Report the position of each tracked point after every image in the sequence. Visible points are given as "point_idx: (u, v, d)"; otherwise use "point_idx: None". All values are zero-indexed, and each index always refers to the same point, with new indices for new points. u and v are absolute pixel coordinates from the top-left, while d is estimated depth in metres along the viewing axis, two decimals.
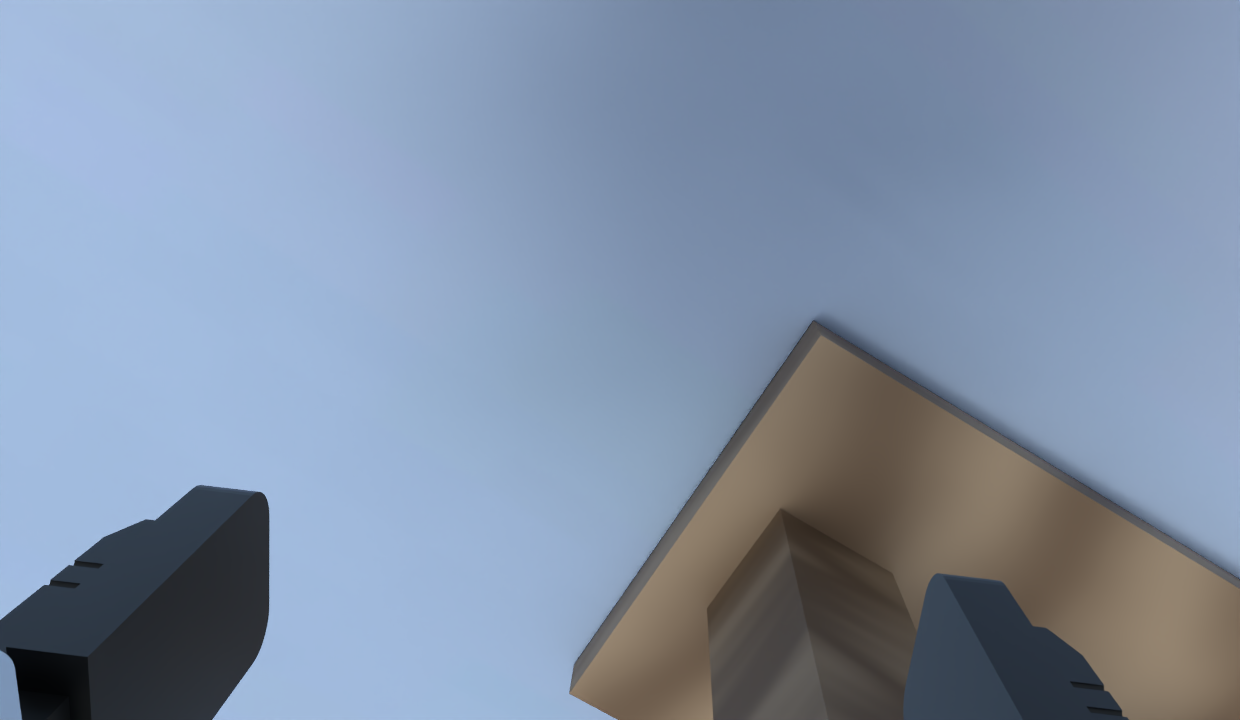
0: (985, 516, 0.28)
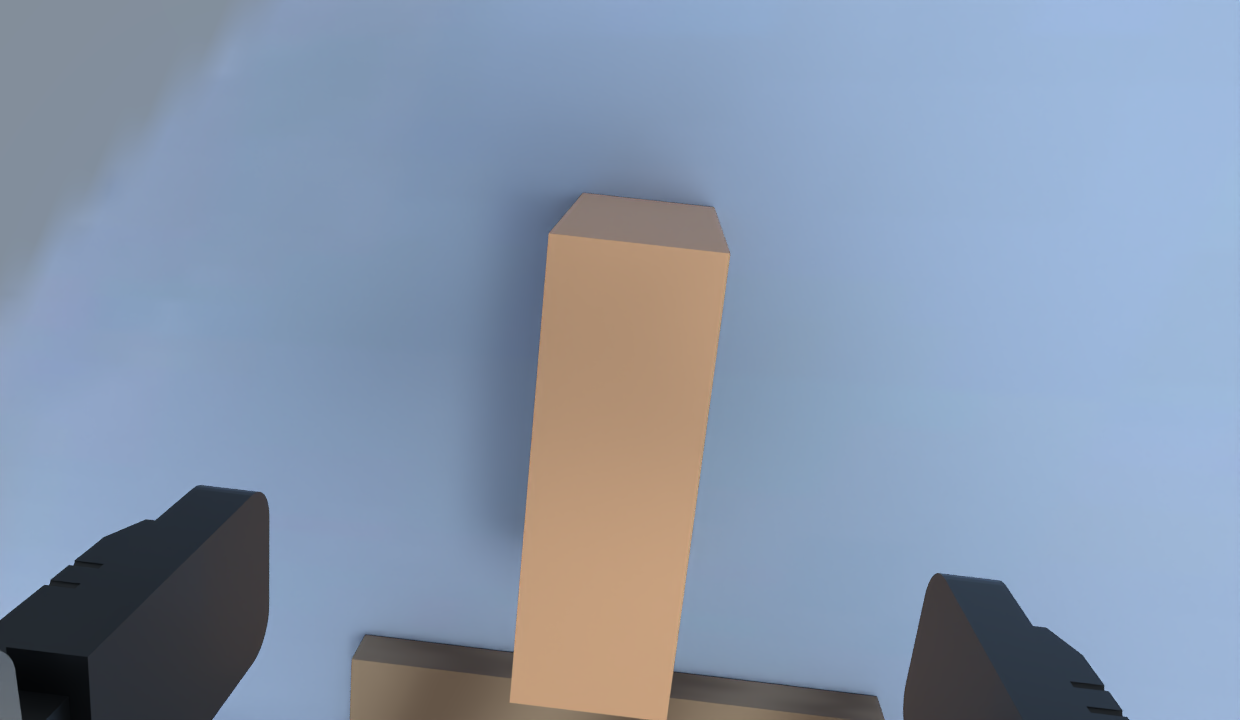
0: None
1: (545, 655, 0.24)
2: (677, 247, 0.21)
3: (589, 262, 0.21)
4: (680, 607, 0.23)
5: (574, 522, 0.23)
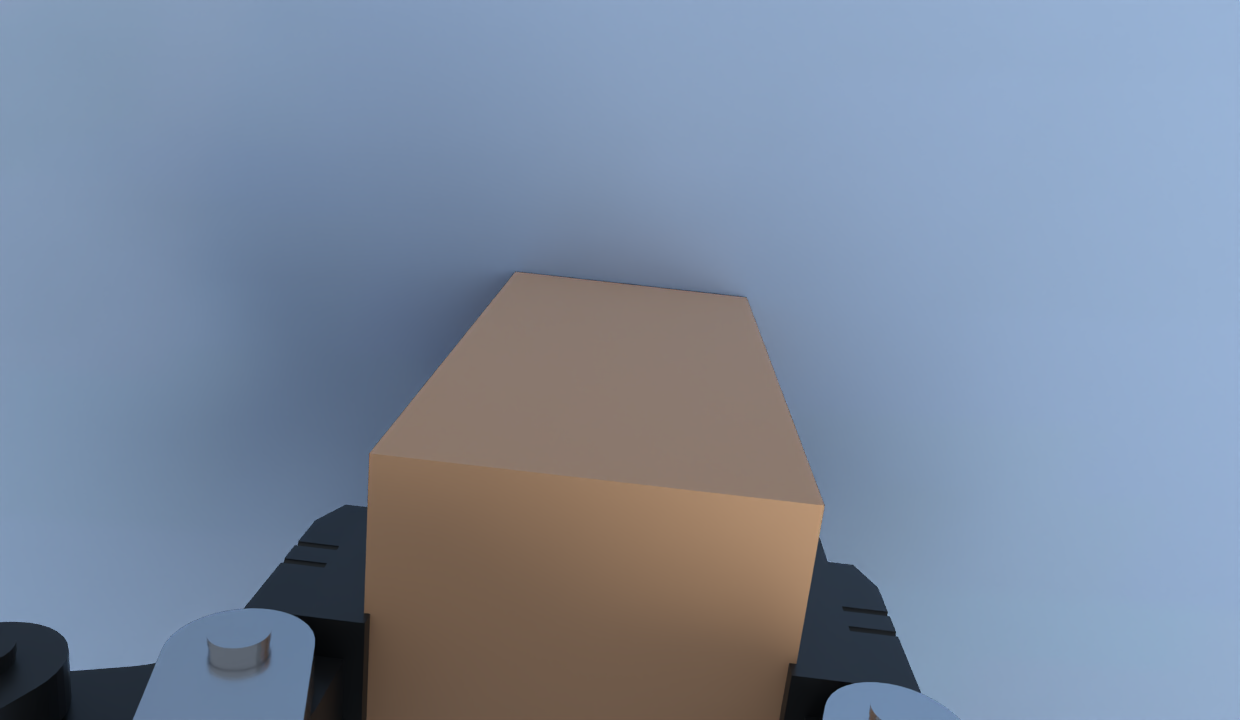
0: None
1: None
2: (691, 487, 0.08)
3: (472, 520, 0.09)
4: None
5: None
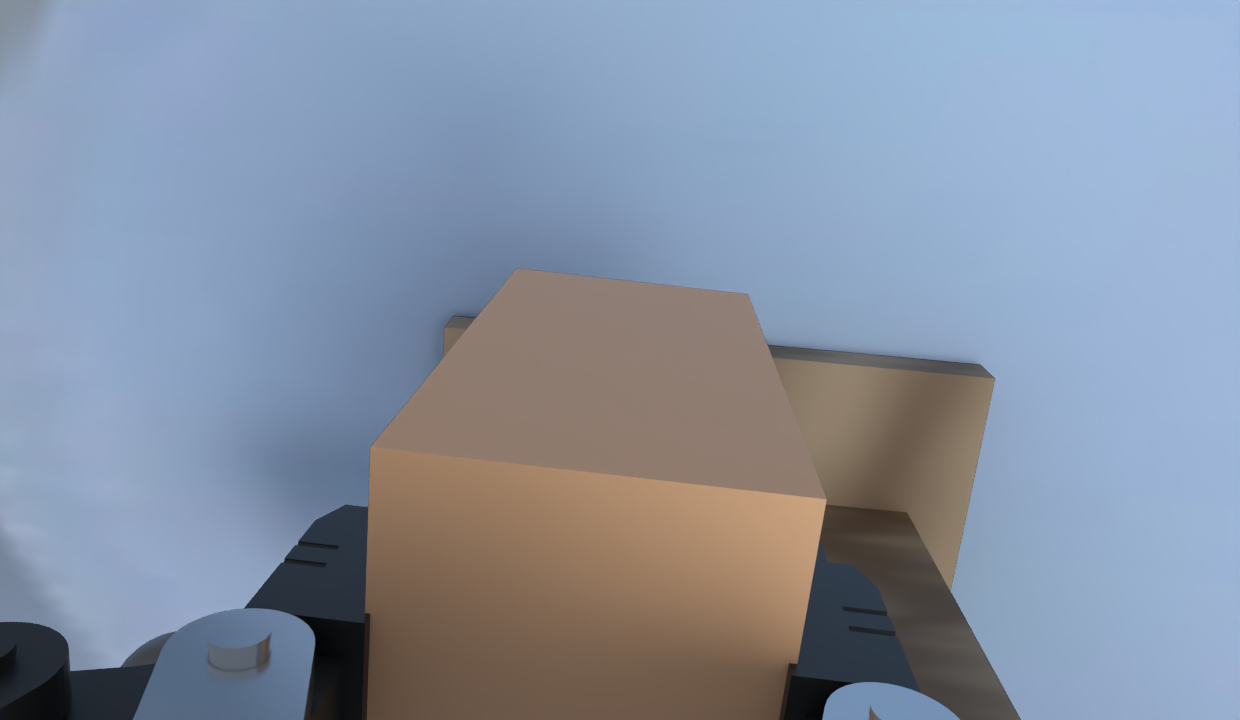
0: None
1: None
2: (693, 481, 0.08)
3: (473, 514, 0.09)
4: None
5: None
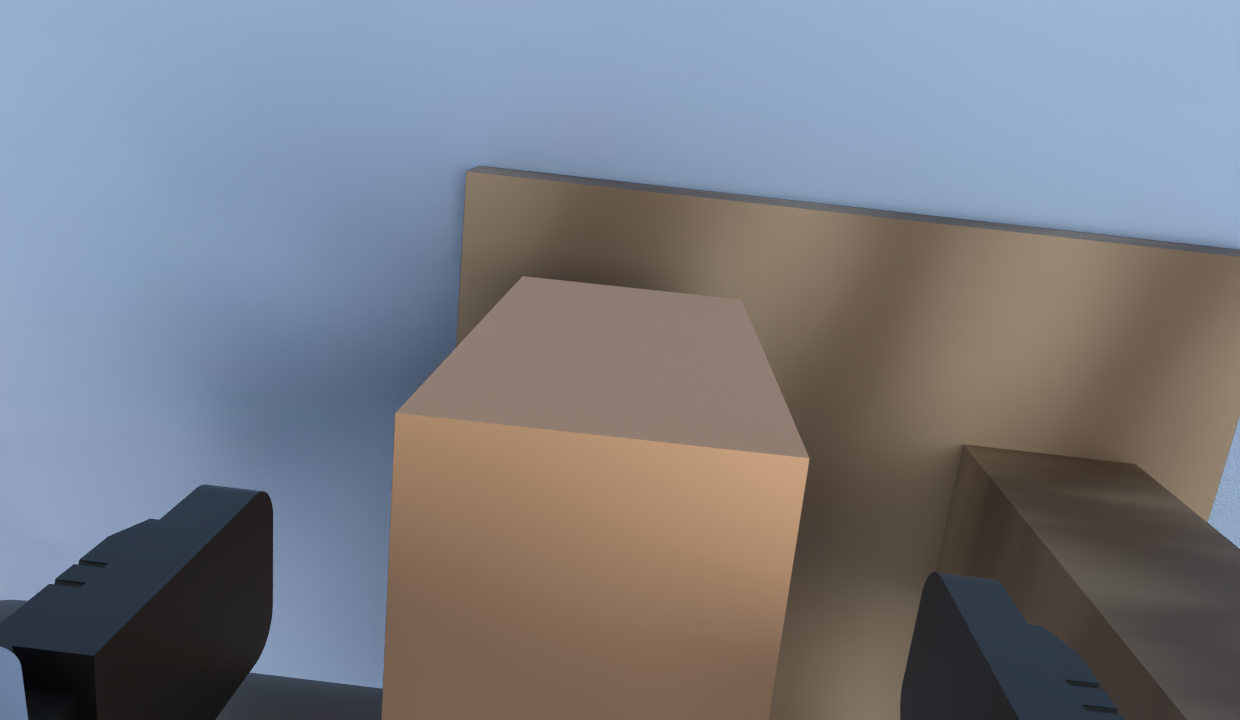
0: (862, 694, 0.24)
1: None
2: (688, 443, 0.09)
3: (488, 474, 0.09)
4: None
5: None
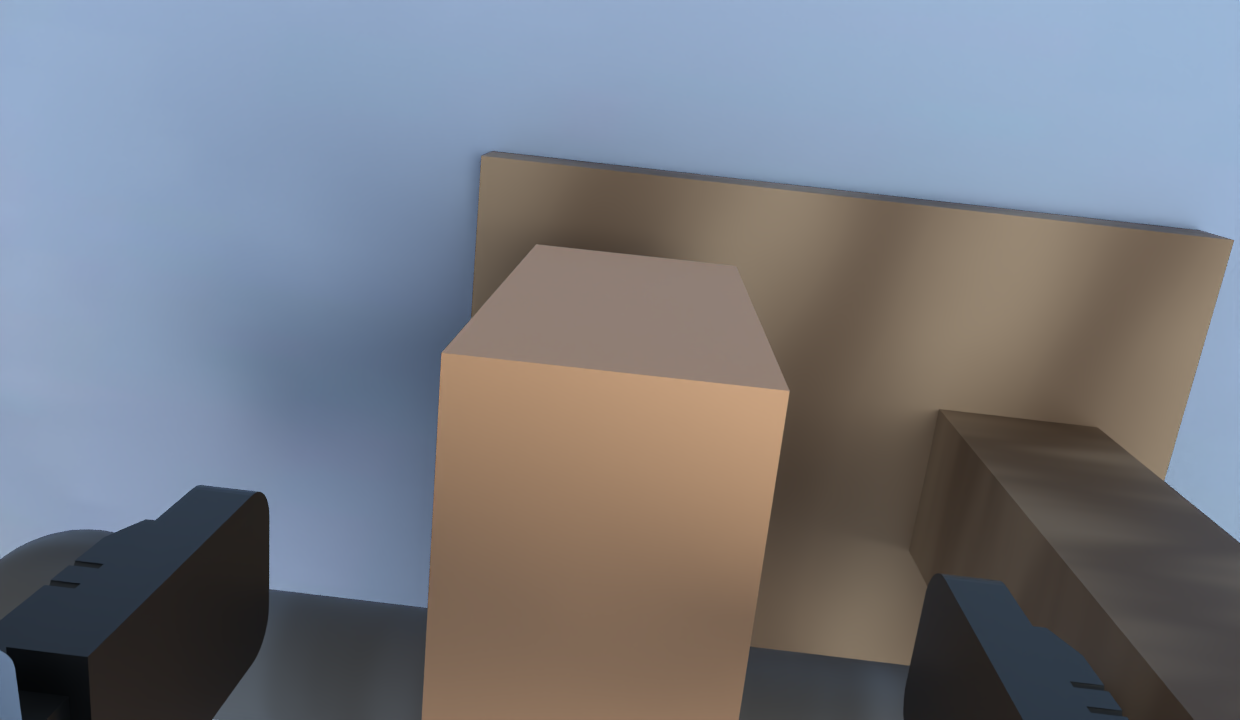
0: (846, 643, 0.26)
1: None
2: (688, 378, 0.11)
3: (519, 405, 0.11)
4: None
5: None
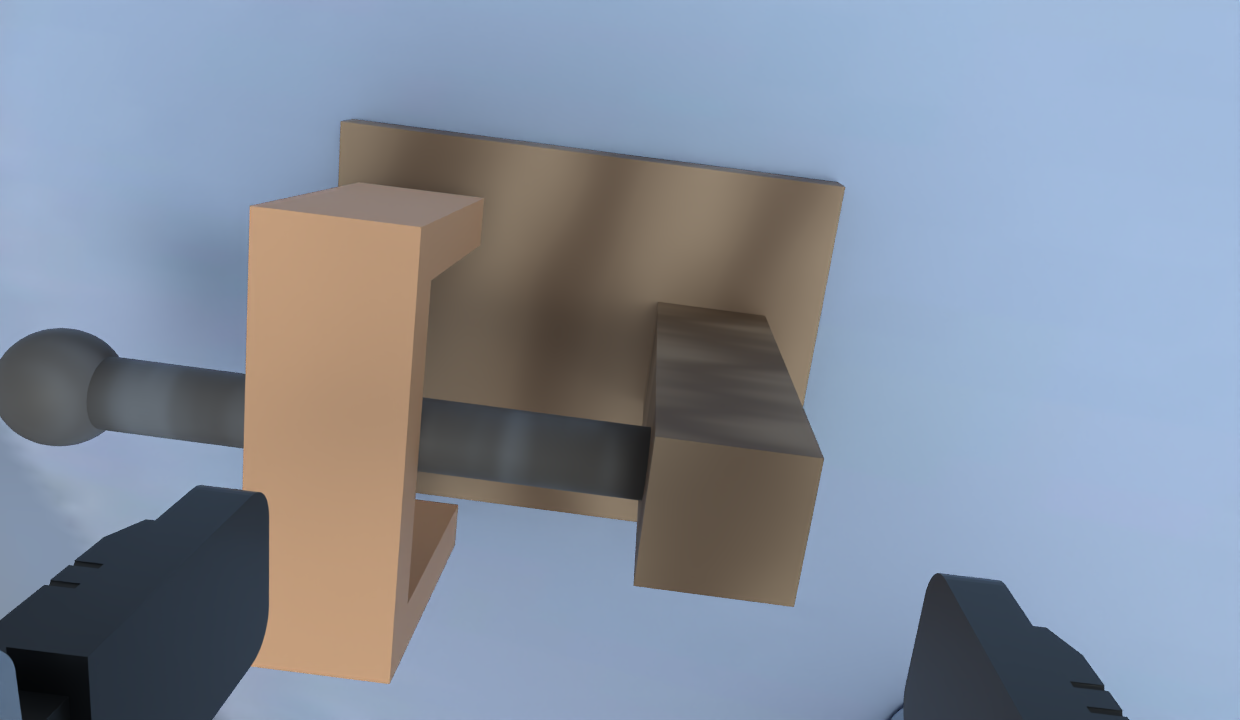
0: None
1: (269, 617, 0.25)
2: (372, 220, 0.22)
3: (289, 233, 0.22)
4: (396, 570, 0.24)
5: (290, 486, 0.24)
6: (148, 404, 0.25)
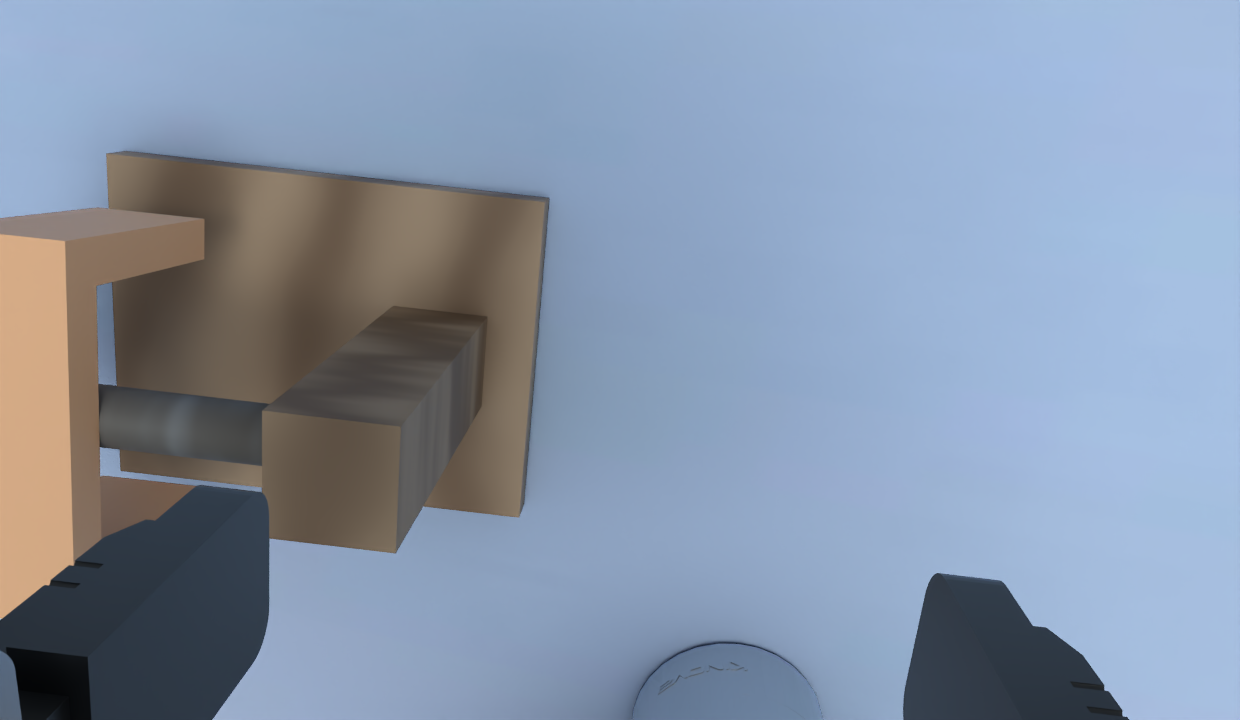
0: None
1: None
2: (26, 236, 0.27)
3: None
4: (72, 528, 0.29)
5: None
6: None
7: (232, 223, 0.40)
